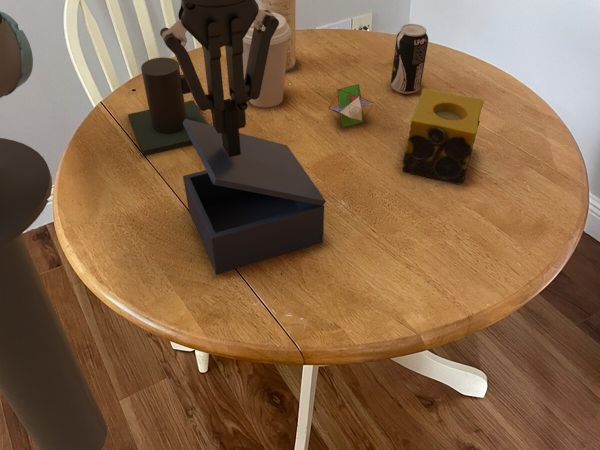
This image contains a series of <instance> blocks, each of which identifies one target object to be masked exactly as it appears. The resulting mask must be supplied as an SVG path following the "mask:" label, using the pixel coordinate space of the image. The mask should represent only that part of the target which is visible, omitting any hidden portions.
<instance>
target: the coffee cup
mask: <svg viewBox="0 0 600 450" xmlns="http://www.w3.org/2000/svg"><path fill="white" fill-rule="evenodd" d="M271 13H272V14H273V15H274V16H275V17H276V18H277V19H278V21H279V25H278V27H277V29H276V31H275V33H274V35H273V36H272V38H271V41H270V46H269V51H268V56H267V61H266V66H265V71H264V76H263V81H262V86H261V91H260V96H259V97H258V98H257V99H255V100H253V99H251V100H249V101H248V102H249V103H250V104H252V105H253V106H255V107H258V108H272V107H276V106H279V105H280V104H281V103H282V102H283V100H284V92H285V80H286V79H285V78H286V72H285V68H286V55H287V44H288V38H289V37H290V35H291V30H290V27H289V25H288V23H287V22H286V19H285V18H284V17H283V16H282V15H280V14H277V13H274V12H271ZM253 30H254V25H253V23H252V25H251V27H250V28H249V30H248V32H247V34H246V35H245V37H244V38H243V50H244V52H243V54H242V55H243V69H244V75H245V74H246V68H247V62H248V57H249V51H250V46H251V40H252V34H253Z"/></svg>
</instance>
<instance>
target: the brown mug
mask: <svg viewBox="0 0 600 450" xmlns="http://www.w3.org/2000/svg"><path fill="white" fill-rule="evenodd" d="M140 70H141V75H142V80H143V85H144V90H145V97H146V101H147V107H148V110H149V111H150V116H151V121H152V126H153V129H154V130H155V131H157V132H159V133H163V134H172V133H177V132H179V131H181V130H183V129H184V128H185V127H184V125H183V122H184V120H185V119H187V116H186V109H185V102H186V101H185V95H186V94H187V95H188V94H192V93H191V91H190V88H189V86H188V84H187V81H186V79H185V77H184V74H183V73H182V74H181V67H180V65H179V63H178V60H177V59H174V58H171V57H163V56H162V57H155V58H151V59H148V60H146V61H145V62H143V63H142V64H141V67H140Z"/></svg>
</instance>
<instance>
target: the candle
mask: <svg viewBox="0 0 600 450" xmlns="http://www.w3.org/2000/svg"><path fill="white" fill-rule="evenodd" d="M484 103H485V100H484V99H483V98H477V97H471V96H465V95H461V94H455V93H450V92H446V91H442V90H436V89H431V88H425V87H423V88H422V90H421V92H420V96H419V99H418V102H417V105H416V108H415V110H414V113H413V115H412V117H411V121H410V127H409V133H408V138H407V145H406V149H405V152H404V156H403V160H402V165H403V166H402V167H401V169H402V172H404V173H410V174H413V175H417V176H423V177H425V178H430V179H435V180H440V181H443V182H449V183H453V184H456V185H463V184H464V182H465V179H466V177H467V176H466V175H467V173H468V168H469V164H470V161H471V156H472V152H473V150H474V144H475V141H476V138H477V134H478V130H479V129H478V128H479V126H480V122H481V121H480V117H481V113H482V109H483V107H484Z"/></svg>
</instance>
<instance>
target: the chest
mask: <svg viewBox="0 0 600 450" xmlns="http://www.w3.org/2000/svg"><path fill="white" fill-rule="evenodd" d="M182 179H183V186H184V191H185V198H186V203H187V204H186V205H187V209H188V213H189V215H190V217H191V220H192V222H193V225H194V227H195V229H196V231H197V234H198V236H199V238H200V241H201V243H202V245H203V248H204V250H205V252H206V255H207V256H208V259H209V261H210V264H211V265H212V268H213V270H214V272H215V275H220V274H224V273H226V272H227V273H228V272H230V271H233V270H236V269H240V268H242V267H246V266H249V265H252V264H253V265H254V264H257V263H260V262H262V261H267V260H269V259H272V258H276V257H279V256H282V255H285V254H290V253H293V252H295V251H298V250H299V251H300V250H302V249H305V248H308V247H309V248H310V247H312V246H316V245H319V244H322V243H323V242H324V223H325V204H324V205H323V206H321V205H316V204H311V203H306V202H301V201H295V200H290V199H285V198H280V197H275V196H269V195H264V194H259V193H254V192H249V191H244V190H238V189H233V188H228V187H223V186H218V185H213V183H212V181H211V179H210V177H209V175H208V173H207V171H206V169H204V170H200V171H195V172H193V173H188V174H183V175H182Z"/></svg>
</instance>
